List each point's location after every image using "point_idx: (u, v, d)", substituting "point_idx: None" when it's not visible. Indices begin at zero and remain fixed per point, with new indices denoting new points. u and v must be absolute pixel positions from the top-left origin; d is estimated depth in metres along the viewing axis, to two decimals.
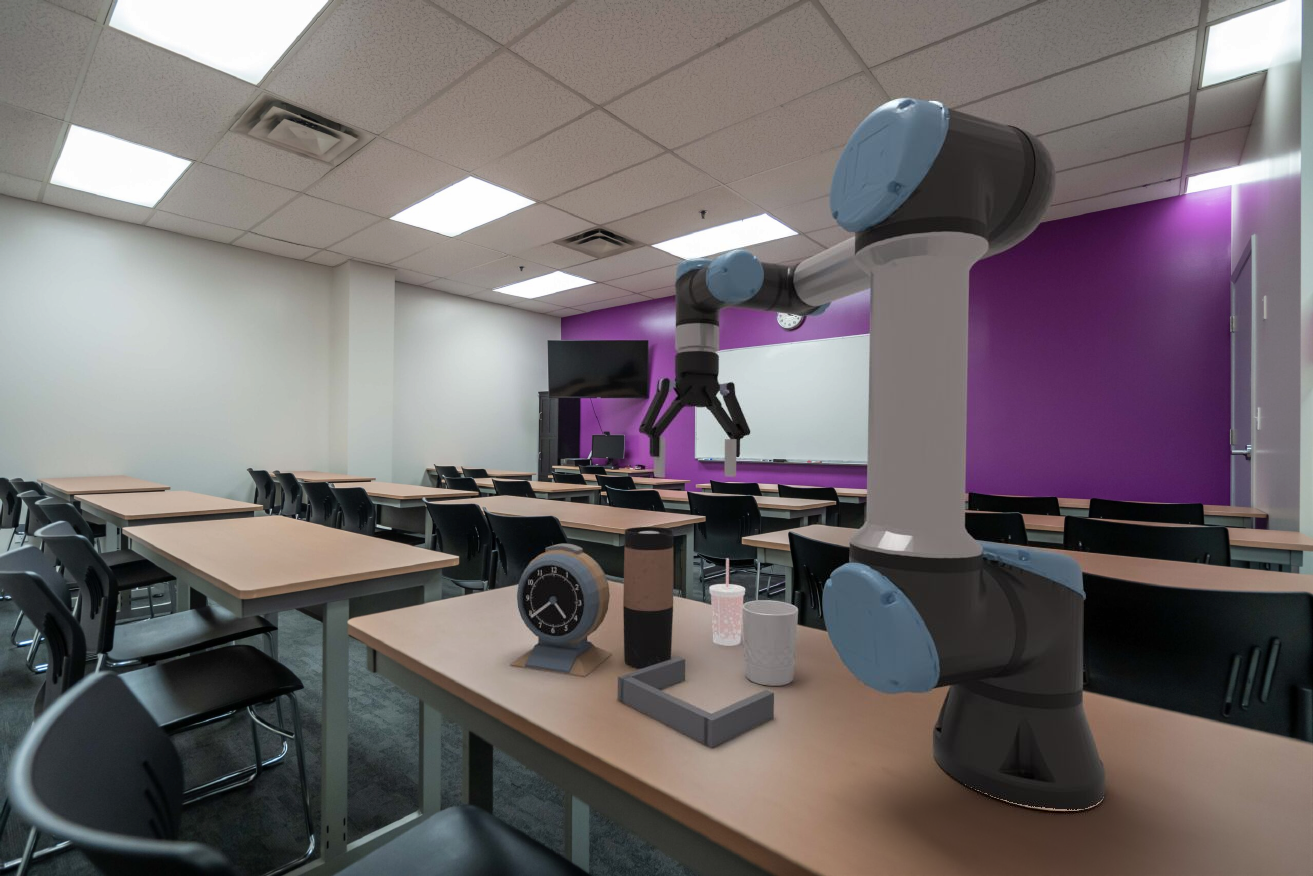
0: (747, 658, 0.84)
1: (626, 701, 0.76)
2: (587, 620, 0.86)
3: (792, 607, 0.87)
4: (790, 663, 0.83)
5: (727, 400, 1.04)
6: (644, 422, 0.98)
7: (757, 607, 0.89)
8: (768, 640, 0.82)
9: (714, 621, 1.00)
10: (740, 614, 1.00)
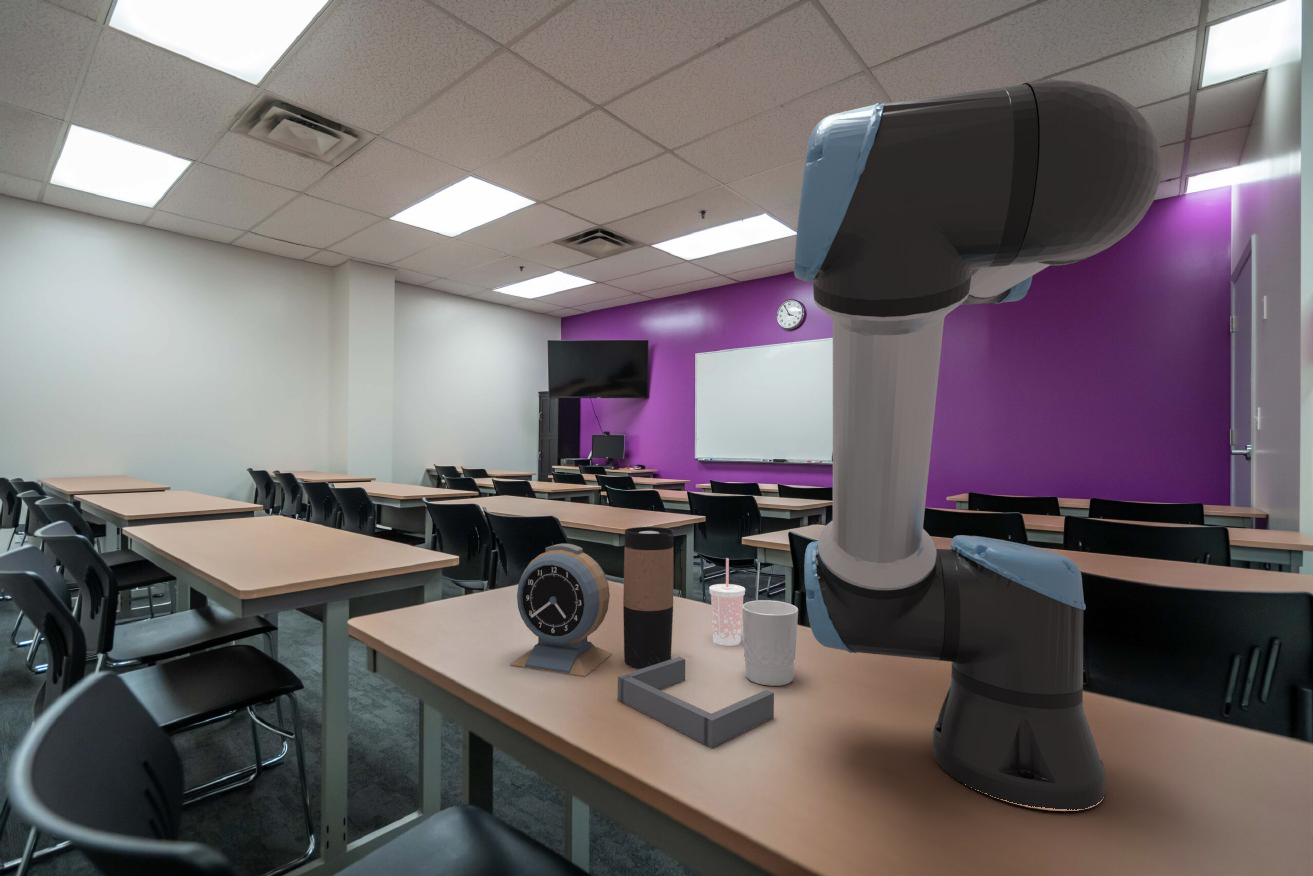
0: (747, 658, 0.84)
1: (626, 701, 0.76)
2: (587, 620, 0.86)
3: (792, 607, 0.87)
4: (790, 663, 0.83)
5: None
6: None
7: (757, 607, 0.89)
8: (768, 640, 0.82)
9: (714, 621, 1.00)
10: (740, 614, 1.00)
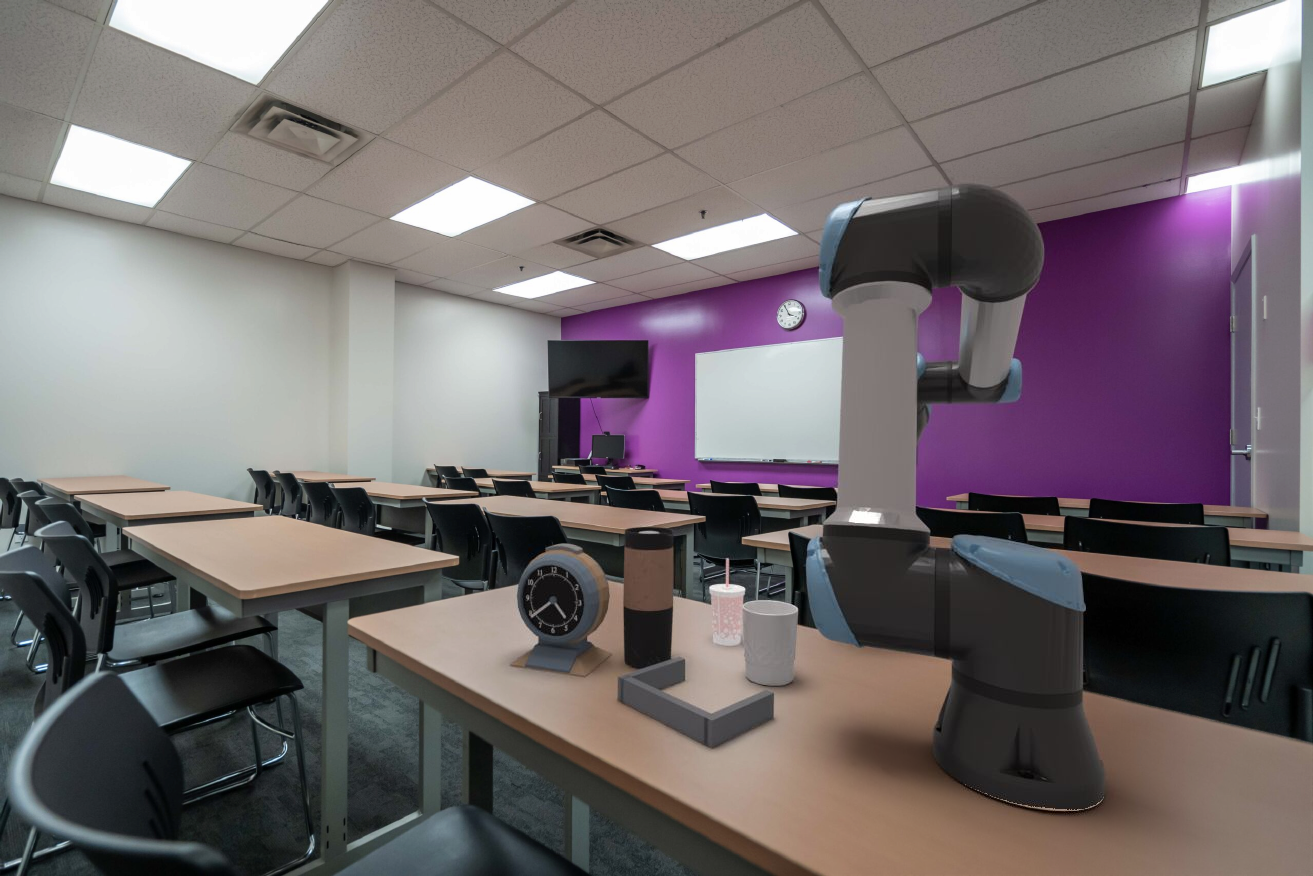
0: (747, 658, 0.84)
1: (626, 701, 0.76)
2: (587, 620, 0.86)
3: (792, 607, 0.87)
4: (790, 663, 0.83)
5: None
6: None
7: (757, 607, 0.89)
8: (768, 640, 0.82)
9: (714, 621, 1.00)
10: (740, 614, 1.00)
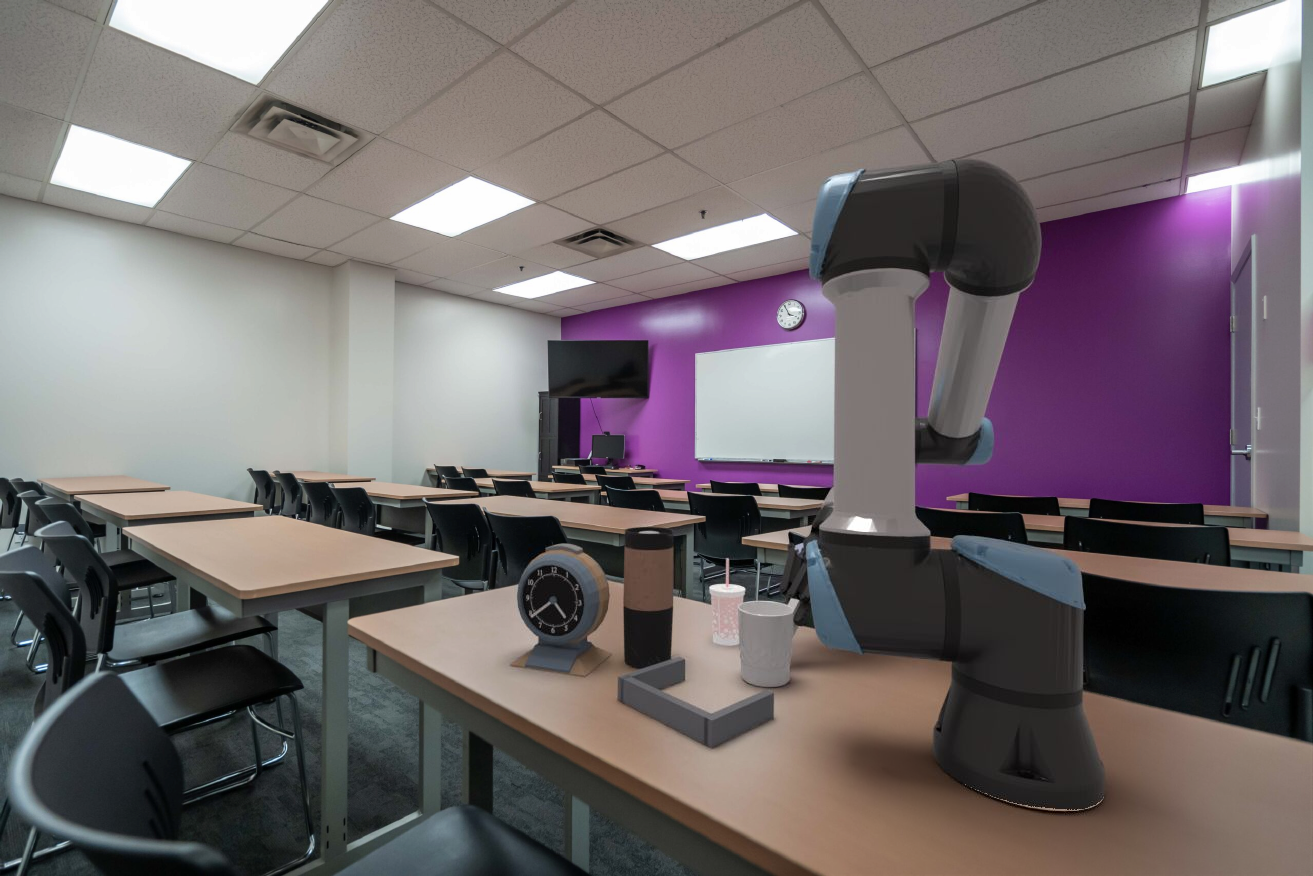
0: (743, 659, 0.83)
1: (626, 701, 0.76)
2: (587, 620, 0.86)
3: (787, 608, 0.86)
4: (786, 664, 0.83)
5: None
6: None
7: (752, 608, 0.88)
8: (764, 641, 0.81)
9: (714, 621, 1.00)
10: None
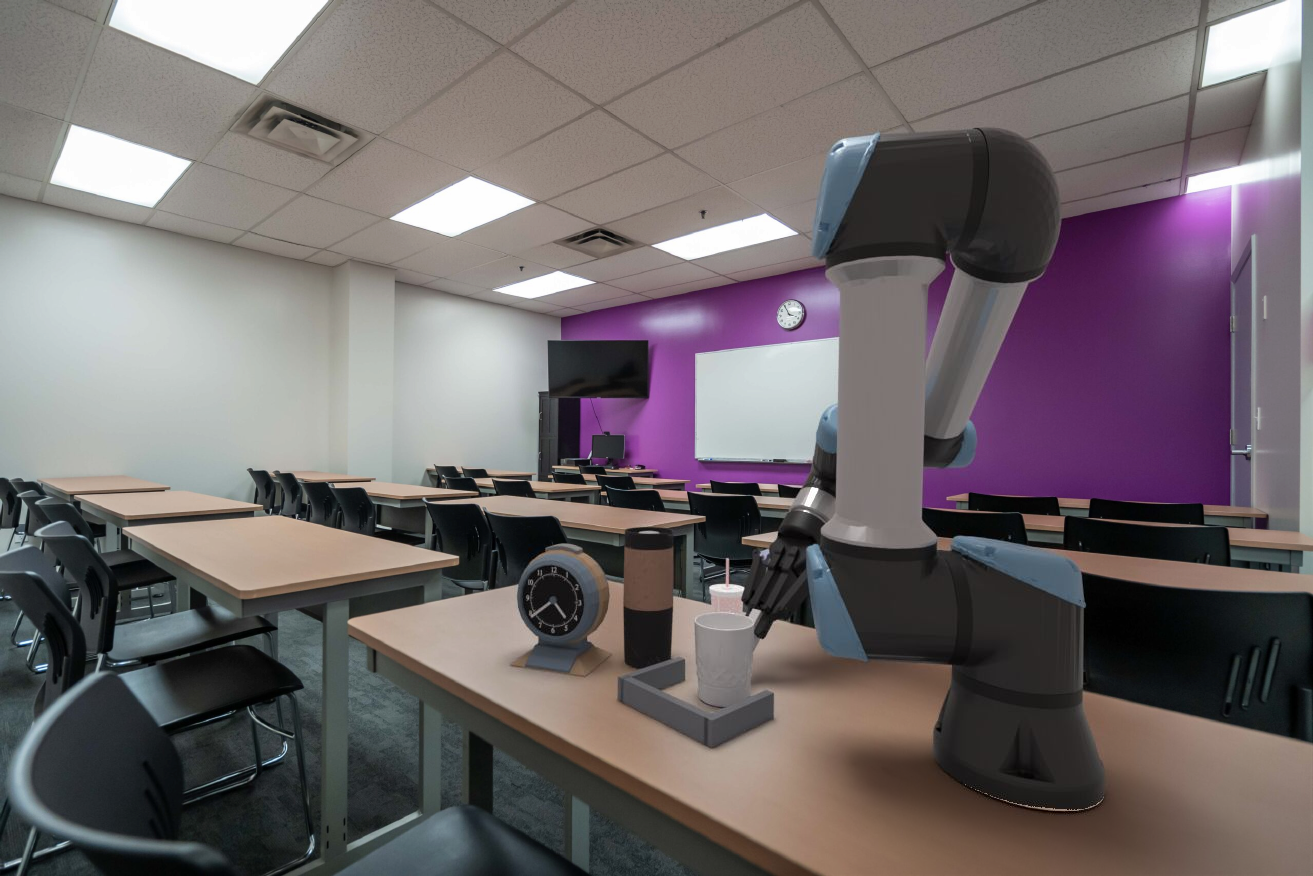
0: (701, 678, 0.77)
1: (626, 701, 0.76)
2: (587, 620, 0.86)
3: (747, 619, 0.80)
4: (747, 681, 0.76)
5: None
6: None
7: (709, 620, 0.82)
8: (724, 657, 0.75)
9: None
10: None
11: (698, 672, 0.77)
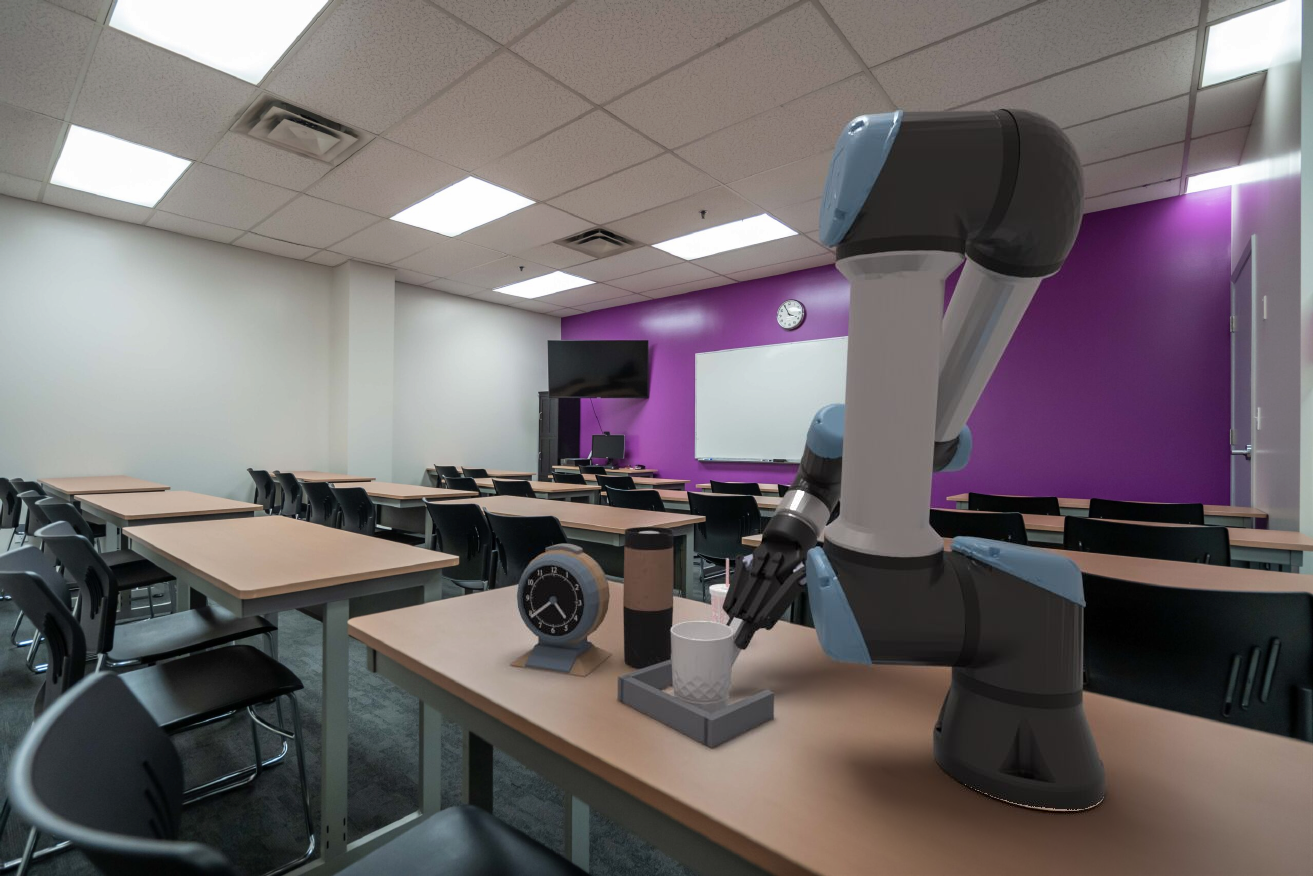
0: (677, 691, 0.73)
1: (626, 701, 0.76)
2: (587, 620, 0.86)
3: (726, 628, 0.76)
4: (726, 694, 0.72)
5: None
6: None
7: (686, 629, 0.78)
8: (701, 669, 0.71)
9: (714, 621, 1.00)
10: None
11: (674, 684, 0.73)
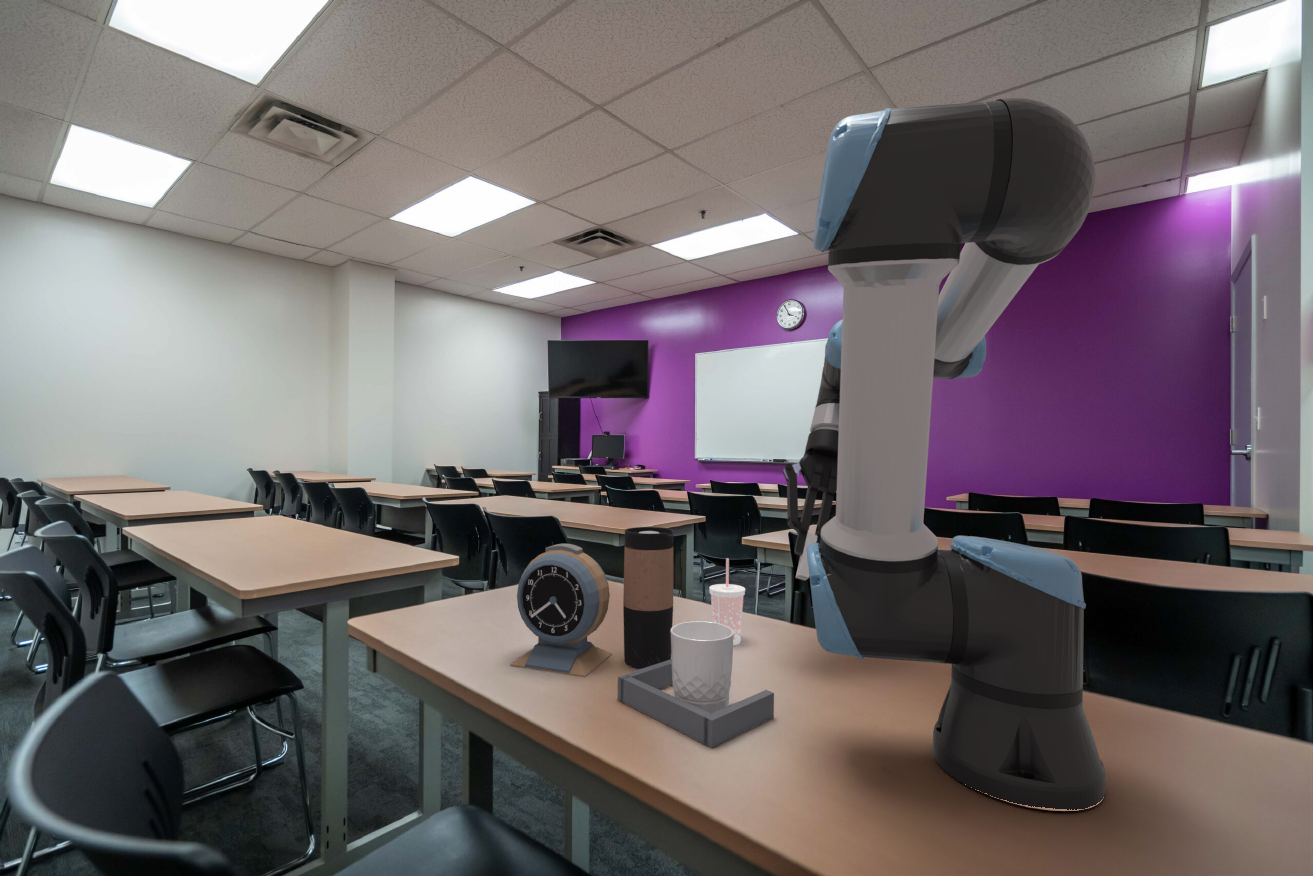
0: (677, 691, 0.73)
1: (626, 701, 0.76)
2: (587, 620, 0.86)
3: (726, 629, 0.76)
4: (725, 694, 0.72)
5: None
6: (788, 515, 0.93)
7: (687, 630, 0.78)
8: (701, 669, 0.71)
9: (714, 621, 1.00)
10: (740, 614, 1.00)
11: (674, 685, 0.73)
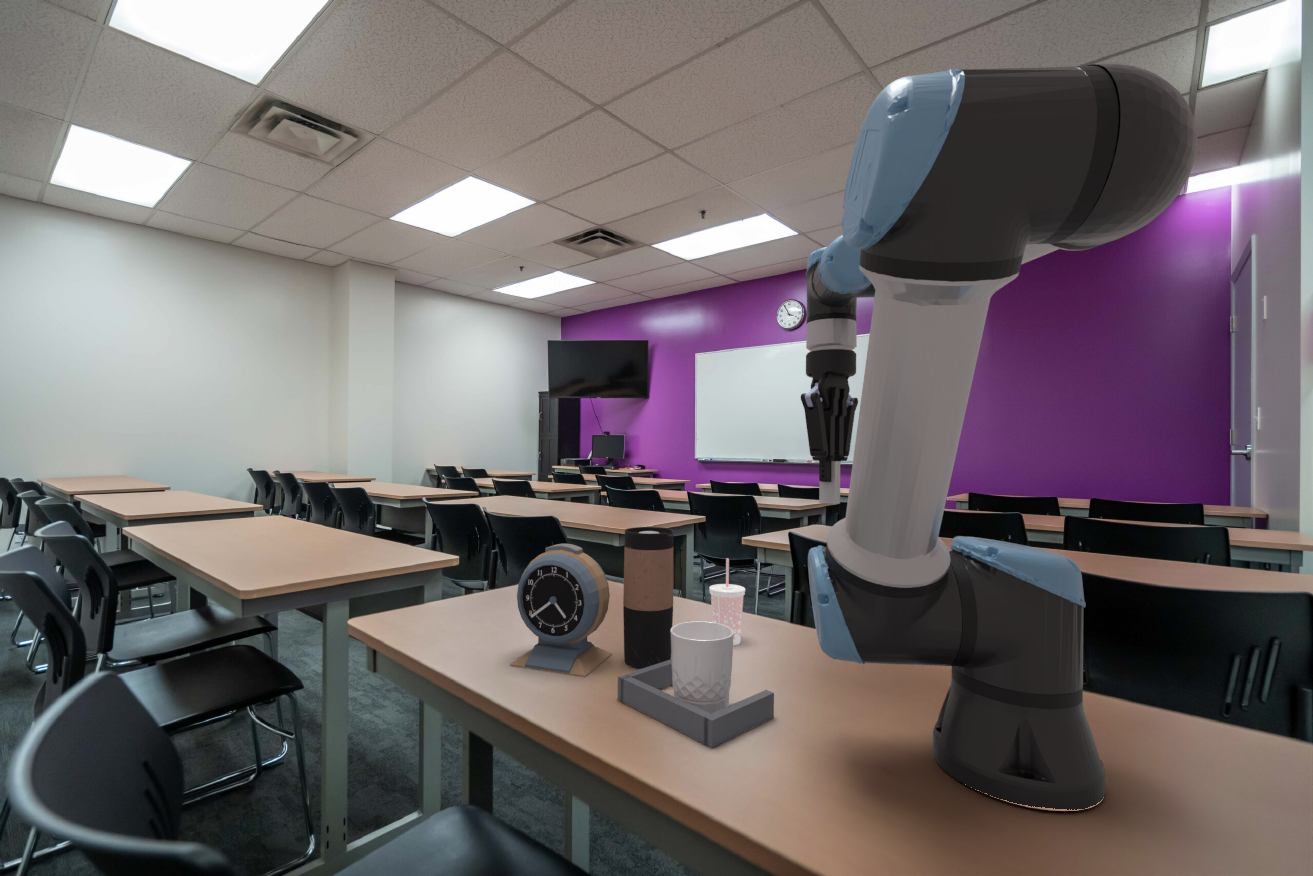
0: (677, 691, 0.73)
1: (626, 701, 0.76)
2: (587, 620, 0.86)
3: (726, 629, 0.76)
4: (725, 694, 0.72)
5: None
6: (814, 446, 0.90)
7: (686, 630, 0.78)
8: (701, 669, 0.71)
9: (714, 621, 1.00)
10: (740, 614, 1.00)
11: (674, 685, 0.73)
